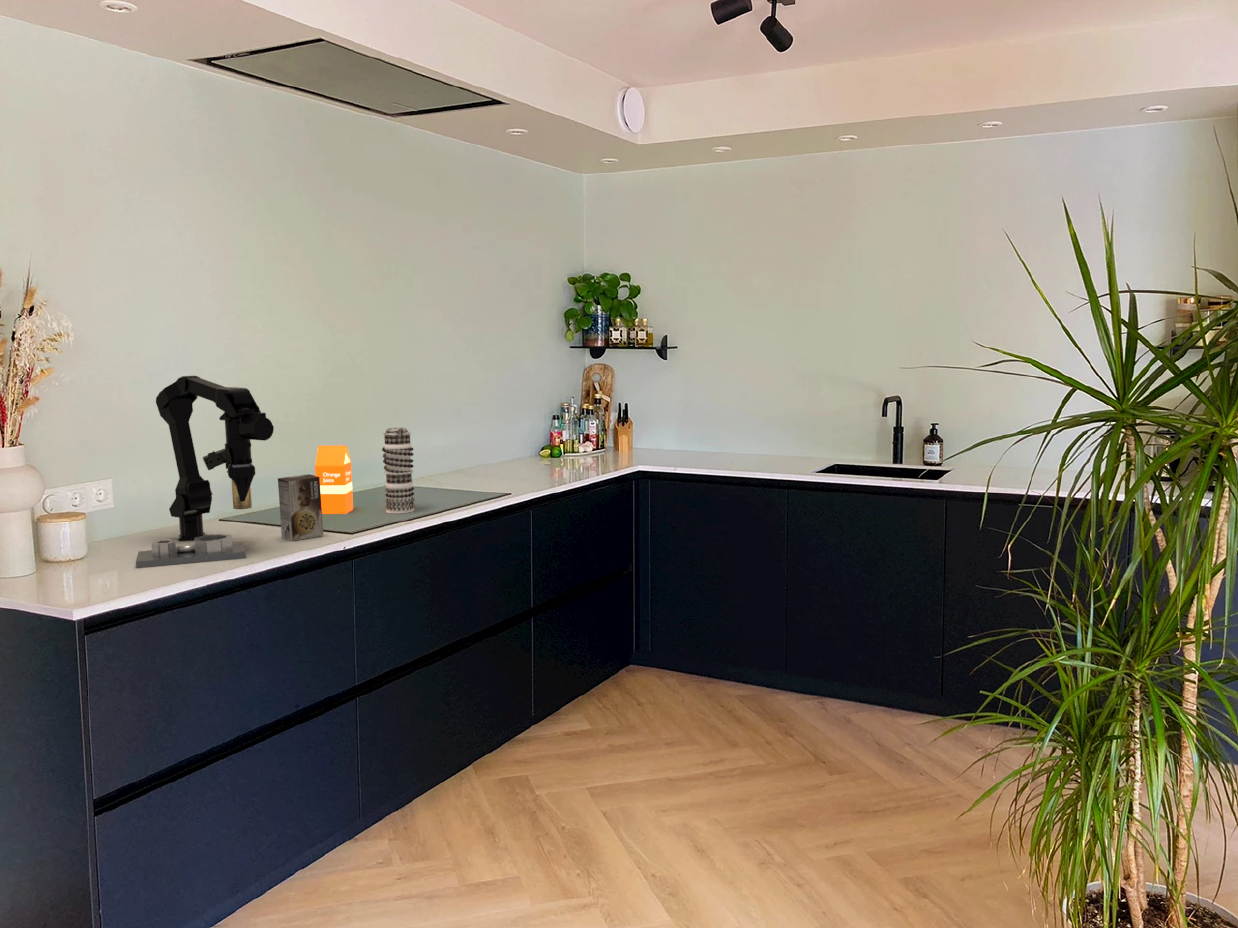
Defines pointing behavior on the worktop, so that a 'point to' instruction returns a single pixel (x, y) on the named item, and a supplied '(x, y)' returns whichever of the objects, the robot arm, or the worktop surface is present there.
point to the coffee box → (300, 507)
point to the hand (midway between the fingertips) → (242, 499)
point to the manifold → (191, 551)
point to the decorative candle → (398, 471)
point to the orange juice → (334, 479)
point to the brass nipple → (236, 501)
